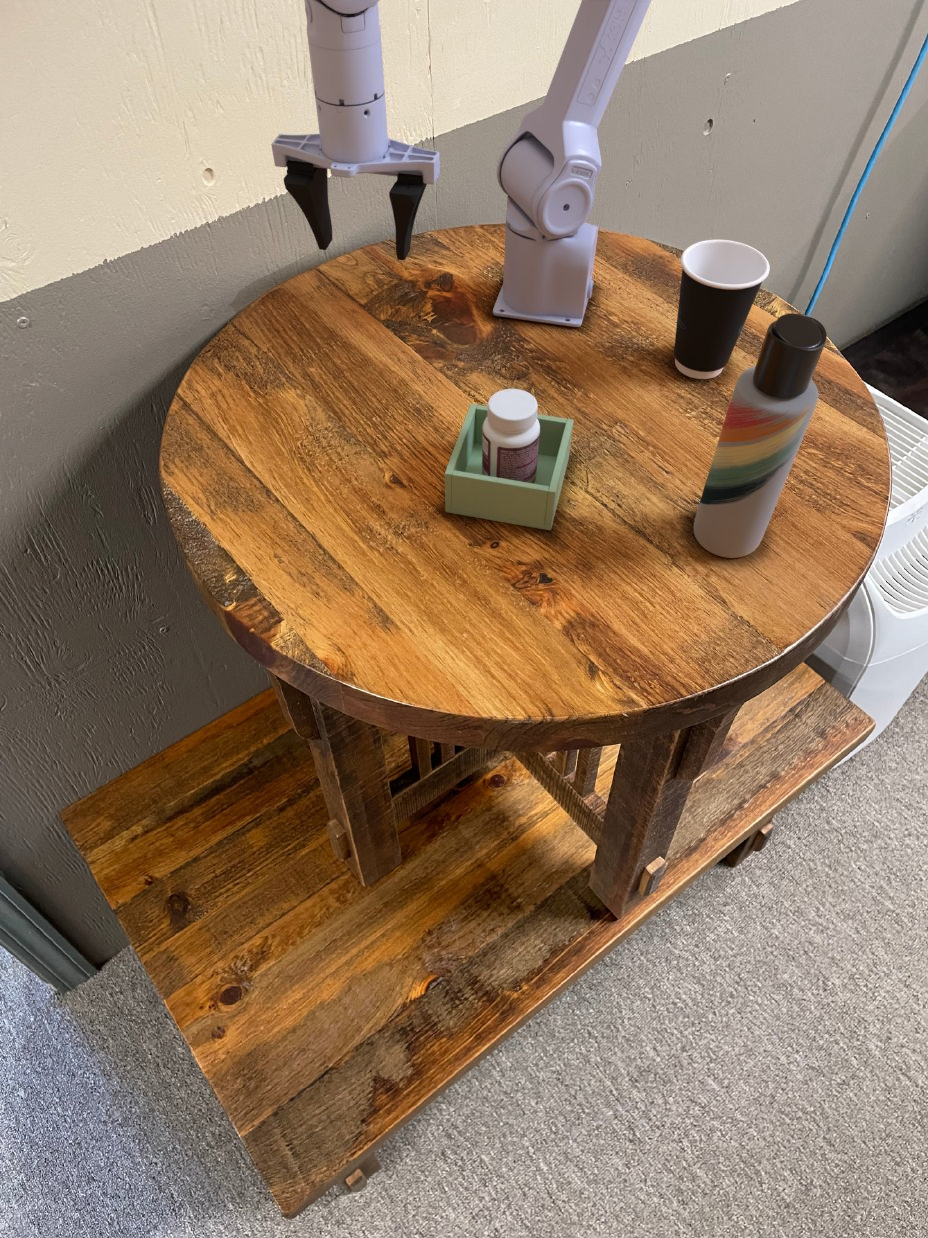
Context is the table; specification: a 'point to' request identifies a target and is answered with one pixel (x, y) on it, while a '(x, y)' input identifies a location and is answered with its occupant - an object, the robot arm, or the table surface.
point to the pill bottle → (511, 436)
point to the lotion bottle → (760, 438)
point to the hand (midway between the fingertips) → (364, 249)
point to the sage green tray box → (506, 496)
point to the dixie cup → (714, 303)
